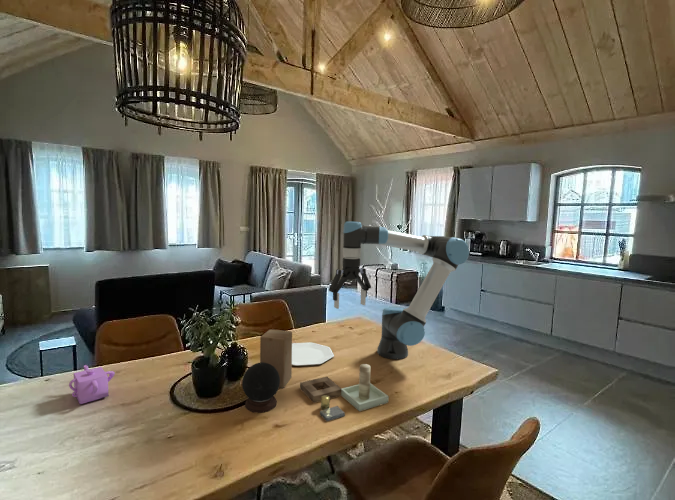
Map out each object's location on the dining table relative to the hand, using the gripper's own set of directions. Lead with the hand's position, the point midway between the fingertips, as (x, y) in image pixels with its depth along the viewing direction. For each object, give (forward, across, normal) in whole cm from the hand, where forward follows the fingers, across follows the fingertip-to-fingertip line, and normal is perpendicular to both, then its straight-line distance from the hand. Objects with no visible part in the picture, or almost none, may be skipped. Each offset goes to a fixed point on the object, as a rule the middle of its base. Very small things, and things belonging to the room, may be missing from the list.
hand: (350, 306), depth 156 cm
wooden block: (+29, +32, -4) cm, 43 cm away
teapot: (+29, +95, -24) cm, 102 cm away
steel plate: (+29, +24, +28) cm, 47 cm away
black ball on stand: (+29, +43, +10) cm, 53 cm away
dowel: (+28, +8, +24) cm, 38 cm away
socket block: (+29, +20, +12) cm, 37 cm away
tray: (+29, +8, +24) cm, 38 cm away
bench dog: (+29, +24, +23) cm, 44 cm away
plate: (+29, +10, -24) cm, 39 cm away
